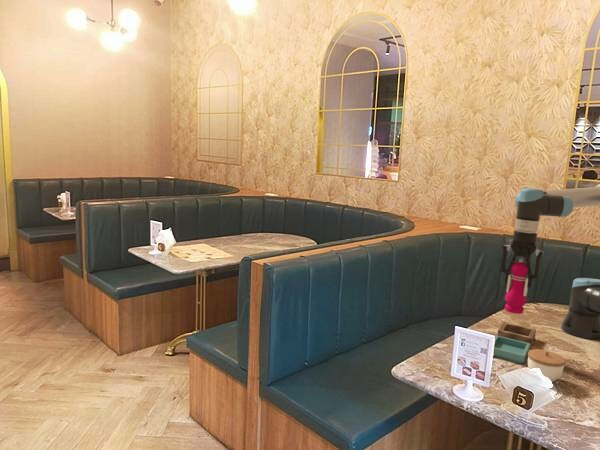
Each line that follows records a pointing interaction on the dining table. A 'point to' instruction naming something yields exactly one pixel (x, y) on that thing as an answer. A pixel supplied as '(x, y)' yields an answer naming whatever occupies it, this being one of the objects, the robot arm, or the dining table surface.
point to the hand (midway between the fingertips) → (516, 293)
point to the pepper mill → (517, 288)
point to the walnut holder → (517, 333)
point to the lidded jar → (546, 363)
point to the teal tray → (511, 349)
